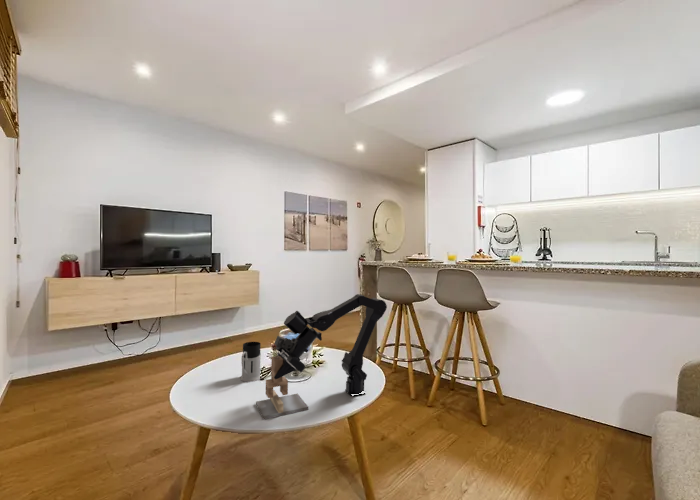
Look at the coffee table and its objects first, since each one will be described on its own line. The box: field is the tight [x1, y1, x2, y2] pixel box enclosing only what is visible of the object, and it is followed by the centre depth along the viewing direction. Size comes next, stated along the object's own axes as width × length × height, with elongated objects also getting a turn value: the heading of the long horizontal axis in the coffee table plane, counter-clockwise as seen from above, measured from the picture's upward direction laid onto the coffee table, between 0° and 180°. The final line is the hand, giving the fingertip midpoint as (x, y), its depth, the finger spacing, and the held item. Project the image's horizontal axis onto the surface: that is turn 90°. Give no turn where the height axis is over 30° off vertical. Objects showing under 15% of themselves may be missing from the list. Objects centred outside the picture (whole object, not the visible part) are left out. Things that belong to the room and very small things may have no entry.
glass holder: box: [240, 341, 262, 383], centre depth 143 cm, size 9×14×15 cm, turn 174°
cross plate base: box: [255, 389, 309, 420], centre depth 119 cm, size 16×12×4 cm
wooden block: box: [265, 355, 289, 399], centre depth 118 cm, size 7×4×13 cm, turn 118°
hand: (273, 376), depth 117 cm, fingers closed on wooden block, 4 cm apart
